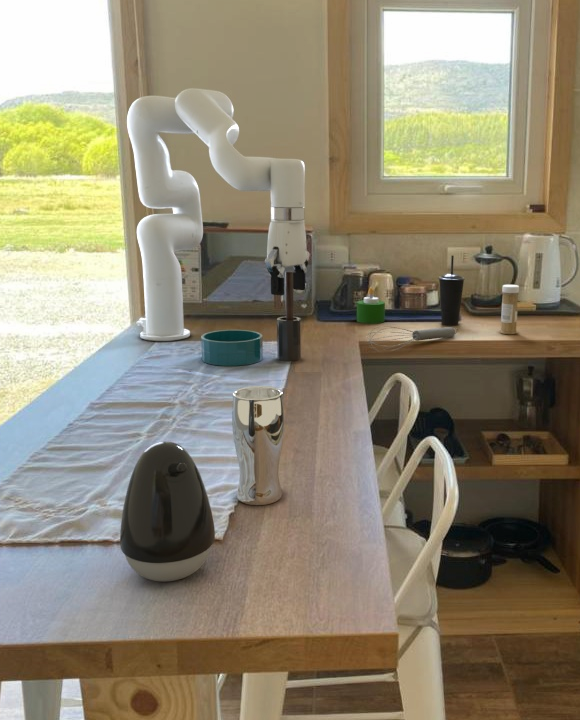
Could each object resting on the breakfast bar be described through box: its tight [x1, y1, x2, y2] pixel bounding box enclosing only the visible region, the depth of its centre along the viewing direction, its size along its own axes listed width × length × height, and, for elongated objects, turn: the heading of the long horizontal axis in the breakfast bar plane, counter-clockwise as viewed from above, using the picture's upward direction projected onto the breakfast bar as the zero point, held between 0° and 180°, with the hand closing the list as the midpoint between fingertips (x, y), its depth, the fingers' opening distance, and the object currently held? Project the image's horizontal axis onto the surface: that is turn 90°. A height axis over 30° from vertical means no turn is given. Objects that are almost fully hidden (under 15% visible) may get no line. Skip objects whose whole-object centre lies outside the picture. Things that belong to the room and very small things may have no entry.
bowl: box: [200, 329, 264, 367], centre depth 186 cm, size 14×14×6 cm
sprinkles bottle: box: [499, 284, 520, 335], centre depth 223 cm, size 5×5×13 cm
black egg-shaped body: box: [119, 441, 216, 583], centre depth 89 cm, size 10×10×15 cm
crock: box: [276, 316, 302, 363], centre depth 187 cm, size 5×6×10 cm
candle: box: [356, 286, 386, 324], centre depth 237 cm, size 8×8×10 cm
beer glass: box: [231, 385, 285, 506], centre depth 110 cm, size 7×7×15 cm
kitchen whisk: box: [366, 325, 459, 353], centre depth 207 cm, size 6×34×6 cm, turn 136°
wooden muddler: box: [284, 270, 295, 320], centre depth 186 cm, size 2×2×20 cm
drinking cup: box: [438, 254, 466, 326], centre depth 234 cm, size 8×8×20 cm
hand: (288, 291), depth 184 cm, fingers open, 8 cm apart
